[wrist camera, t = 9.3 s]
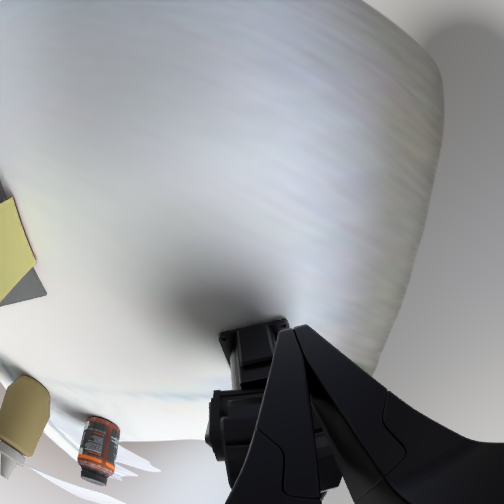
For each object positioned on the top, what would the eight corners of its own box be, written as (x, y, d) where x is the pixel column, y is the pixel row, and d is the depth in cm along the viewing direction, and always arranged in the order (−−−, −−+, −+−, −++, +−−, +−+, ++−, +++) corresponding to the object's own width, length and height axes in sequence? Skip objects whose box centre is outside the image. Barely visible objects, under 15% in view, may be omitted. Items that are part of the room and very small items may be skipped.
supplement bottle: (80, 414, 30) (66, 471, 20) (106, 415, 30) (94, 478, 20) (101, 431, 33) (91, 484, 23) (127, 433, 33) (120, 490, 23)
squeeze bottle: (13, 361, 25) (-28, 454, 9) (56, 387, 27) (25, 489, 11) (18, 384, 27) (-13, 466, 11) (56, 407, 30) (33, 494, 14)
